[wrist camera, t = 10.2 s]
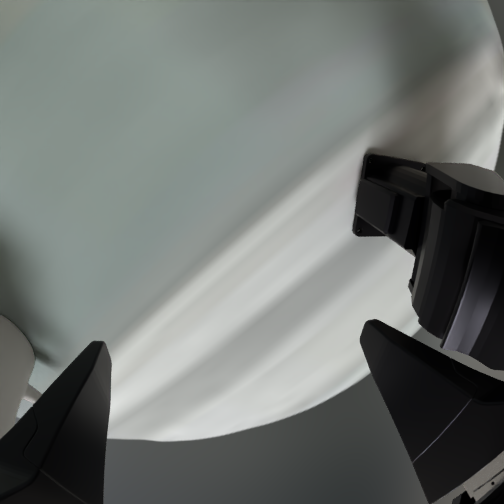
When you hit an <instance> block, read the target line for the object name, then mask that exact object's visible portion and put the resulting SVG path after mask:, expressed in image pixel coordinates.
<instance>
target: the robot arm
mask: <svg viewBox="0 0 504 504" xmlns="http://www.w3.org/2000/svg"><path fill="white" fill-rule="evenodd" d="M370 158H372V162H371V163H370V162H369V160H370ZM421 168H422V170H421ZM359 228H360V231H358V229H359ZM352 231H353V233H354V234H355V235H356V236H359V237H366V236H387V237H389V238H390V239H391V240H393V241H394V242H396V243H397V244H398V245H400V246H401V247H402V248H404V249H405V250H406V251H408V252H409V253H410V254H412V255H413V256H414V257H415V263H414V268H413V273H412V278H411V279H410V280H409V285H408V288H409V290H410V292H411V294H412V296H411V298H412V306H413V308H414V310H415V312H416V313H417V315H418V317H419V319H418V322H419V324H420V325H421V326H422V327H423V328H425V329H426V330H427V331H428V332H429V333H431V334H432V335H434V336H436V337H437V338H440V339H442V342H441V344H440V347H441V348H442V349H446V350H453V351H458V352H461V353H463V354H466V355H469V356H471V357H473V358H474V359H476V360H478V361H479V362H481V363H482V364H484V365H485V366H487V367H489V368H490V369H493V370H504V180H503V179H502V178H501V177H500V176H499V175H498V174H497V173H496V172H495V171H492V170H489V169H485V168H482V167H479V166H475V165H472V164H464V163H426V164H424V163H421V162H416V161H411V160H406V159H400V158H395V157H389V156H383V155H377V154H371V153H368V154H366V155H365V157H364V161H363V168H362V175H361V181H360V183H359V189H358V195H357V202H356V207H355V218H354V223H353V229H352ZM360 344H361V347H362V349H363V352H364V355H365V357H366V360H367V363H368V366H369V368H370V371H371V374H372V376H373V378H374V380H375V383H376V385H377V387H378V389H379V391H380V393H381V395H382V397H383V399H384V401H385V404H386V406H387V408H388V410H389V412H390V414H391V416H392V419H393V421H394V423H395V425H396V427H397V429H398V432H399V434H400V436H401V438H402V441H403V443H404V445H405V448H406V450H407V452H408V454H409V457H410V459H411V461H412V464H413V467H414V469H415V471H416V474H417V476H418V479H419V481H420V483H421V486H422V488H423V491H424V493H425V496H426V499H427V501H428V503H429V504H432V503H434V502H436V501H437V500H439V499H441V498H442V497H444V496H445V495H447V494H448V493H450V492H451V491H453V490H454V489H456V488H457V487H459V486H460V485H462V484H463V486H464V487H465V489H466V490H465V491H464V492H463V493H462V494H460V495H459V496H457V497H456V498H455V499H453V501H452V504H504V381H501V380H498V379H495V378H493V377H491V376H488V375H486V374H484V373H481V372H479V371H477V370H474V369H472V368H470V367H468V366H466V365H464V364H462V363H460V362H458V361H456V360H454V359H452V358H451V359H450V357H448V356H446V355H444V354H442V353H440V352H438V351H437V350H435V349H433V348H431V347H429V346H427V345H425V344H423V343H421V342H419V341H417V340H416V339H414V338H412V337H410V336H408V335H406V334H404V333H402V332H400V331H398V330H396V329H395V328H393V327H391V326H389V325H387V324H385V323H383V322H381V321H379V320H377V319H373V320H368V321H366V322H365V324H364V327H363V330H362V333H361V336H360ZM111 368H112V363H111V358H110V355H109V352H108V349H107V346H106V343H105V342H104V341H92V342H91V343H90V344H89V345H88V346H87V347H86V348H85V349H84V350H83V351H82V352H81V353H80V354H79V355H78V357H77V358H76V359H75V360H74V361H73V362H72V363H71V364H70V365H69V366H68V367H67V368H66V369H65V370H64V371H63V372H62V374H61V375H60V376H59V377H58V378H57V379H56V380H55V381H54V382H53V383H52V384H51V385H50V387H49V388H48V389H47V390H46V391H45V392H44V393H43V394H42V395H41V396H40V398H39V399H38V400H37V401H36V402H35V403H34V404H33V407H31V408H30V409H29V410H28V411H27V412H26V413H25V414H24V416H23V417H22V418H21V419H20V420H19V421H18V422H17V423H16V424H15V425H14V426H13V427H12V428H11V429H10V430H9V431H8V432H7V433H6V434H5V435H4V436H3V437H2V438H1V439H0V504H103V492H104V491H103V490H104V467H105V452H106V441H107V431H108V422H109V413H110V401H111Z"/></svg>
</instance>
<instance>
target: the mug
mask: <svg viewBox="0 0 504 504" xmlns="http://www.w3.org/2000/svg"><path fill="white" fill-rule="evenodd" d="M34 365H35V356H34V352H33V349H32V347H31V345H30V343H29V341H28V340H27V338H26V337H25V335H24V334H23V333H22V332H21V331H20V329H19V328H18V327H17V326H16V325H14V324H13V323H12V322H11V321H10V320H8V319H7V318H5V317H4V316H2V315H0V439H1V438H2V437H3V436H4V435H5V434H6V433H7V432H8V431H9V430H10V429H11V428H12V427H13V426H14V425H15V419H16V415H17V412H18V409H19V406H20V403H21V400H27V401H30V402H32V403H33V404H34V403H35V402H36V401H37V400H38V399H39V398H40V396H41V395H42V394H41V393H40V392H39V391H37V390H36V389H35V388H33V387H32V386H31V385H29V384H28V381H29V378H30V376H31V373H32V371H33V368H34Z"/></svg>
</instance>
